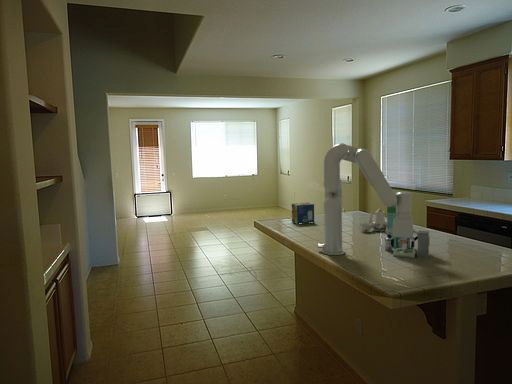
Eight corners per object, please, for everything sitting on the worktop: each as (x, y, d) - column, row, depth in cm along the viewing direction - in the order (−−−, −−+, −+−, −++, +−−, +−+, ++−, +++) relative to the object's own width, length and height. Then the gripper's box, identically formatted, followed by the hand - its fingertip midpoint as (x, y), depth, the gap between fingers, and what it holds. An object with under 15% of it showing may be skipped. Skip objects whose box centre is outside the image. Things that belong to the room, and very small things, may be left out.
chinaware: (358, 235, 259) (358, 212, 255) (358, 228, 274) (358, 206, 271) (402, 236, 252) (403, 212, 248) (399, 229, 268) (400, 206, 264)
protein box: (291, 222, 307) (291, 203, 306) (309, 221, 312) (308, 202, 310) (296, 224, 297) (296, 205, 296) (314, 223, 302) (314, 203, 300)
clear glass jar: (384, 251, 210) (384, 238, 209) (385, 249, 214) (385, 237, 213) (392, 251, 208) (392, 239, 207) (393, 249, 212) (393, 237, 211)
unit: (417, 257, 195) (417, 233, 194) (418, 253, 202) (418, 230, 201) (429, 258, 193) (429, 233, 192) (429, 254, 199) (430, 231, 198)
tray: (393, 256, 198) (393, 252, 198) (395, 251, 207) (395, 248, 207) (414, 258, 194) (414, 254, 194) (415, 253, 203) (415, 249, 203)
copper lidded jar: (399, 254, 200) (399, 240, 199) (400, 252, 203) (400, 239, 203) (408, 254, 198) (408, 241, 197) (409, 252, 201) (409, 239, 201)
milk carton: (396, 249, 213) (396, 204, 211) (386, 245, 222) (387, 203, 220) (410, 247, 216) (410, 203, 213) (400, 244, 224) (400, 202, 222)
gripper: (385, 215, 199) (384, 247, 201) (421, 217, 192) (419, 251, 194) (387, 213, 206) (386, 244, 208) (421, 215, 199) (420, 247, 200)
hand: (402, 247), depth 201 cm, fingers open, 9 cm apart
